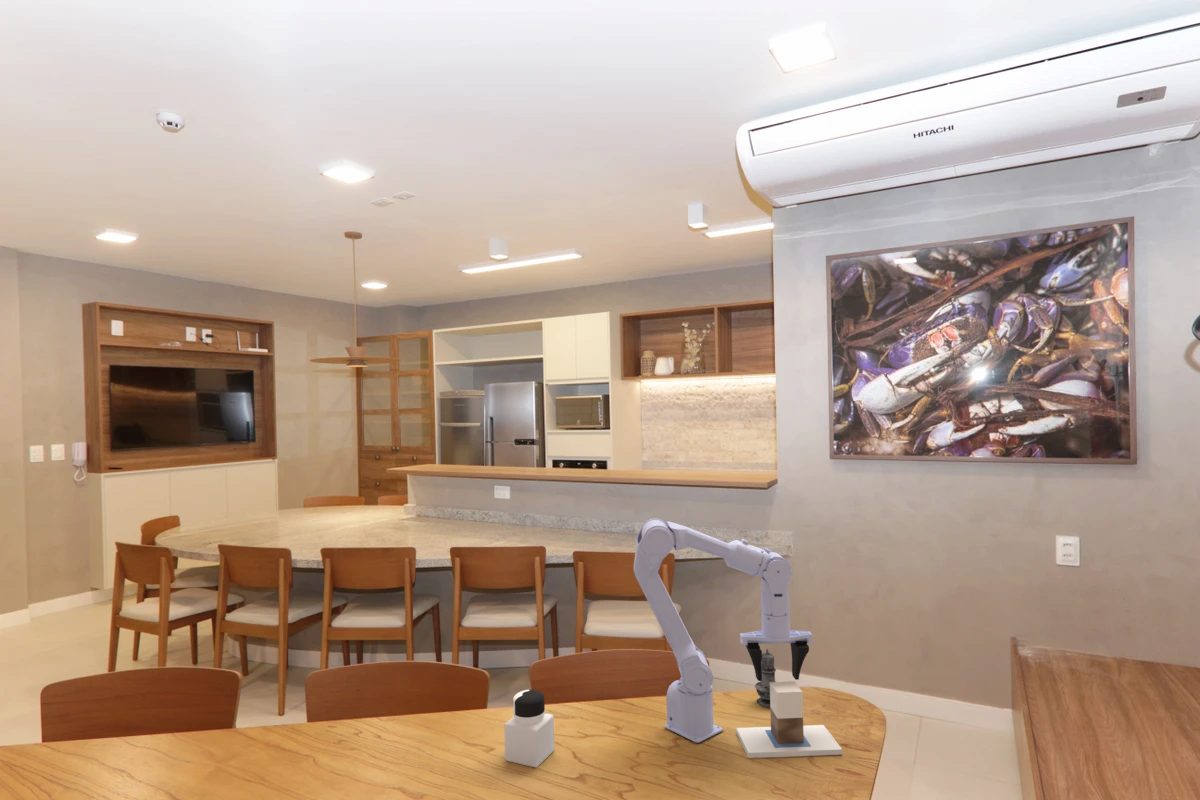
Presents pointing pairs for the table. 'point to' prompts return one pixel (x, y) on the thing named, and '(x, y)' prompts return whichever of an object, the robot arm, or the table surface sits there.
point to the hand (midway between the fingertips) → (777, 678)
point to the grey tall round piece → (766, 679)
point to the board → (765, 745)
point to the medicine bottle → (529, 730)
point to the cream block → (786, 700)
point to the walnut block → (787, 729)
